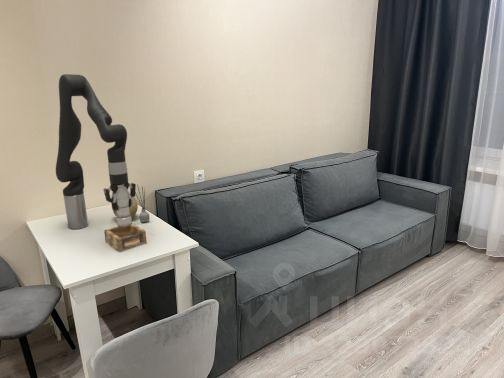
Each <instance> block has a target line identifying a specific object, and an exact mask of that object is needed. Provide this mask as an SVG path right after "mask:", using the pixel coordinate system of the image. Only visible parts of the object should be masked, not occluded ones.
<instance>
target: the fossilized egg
mask: <svg viewBox="0 0 504 378" xmlns="http://www.w3.org/2000/svg"><path fill="white" fill-rule="evenodd" d="M131 200H132V205H131V207H129V211H130V215H131V219H132V218H133V217H135V215H136V214H137V212H138V208H139V207H138V206H139V204H138V201H137V199H136V198H135V197H132V198H131ZM111 209H112V208H111ZM112 213H113V214H114V215H115V217H117V214H116V211H115V210H113V209H112Z"/></svg>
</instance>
